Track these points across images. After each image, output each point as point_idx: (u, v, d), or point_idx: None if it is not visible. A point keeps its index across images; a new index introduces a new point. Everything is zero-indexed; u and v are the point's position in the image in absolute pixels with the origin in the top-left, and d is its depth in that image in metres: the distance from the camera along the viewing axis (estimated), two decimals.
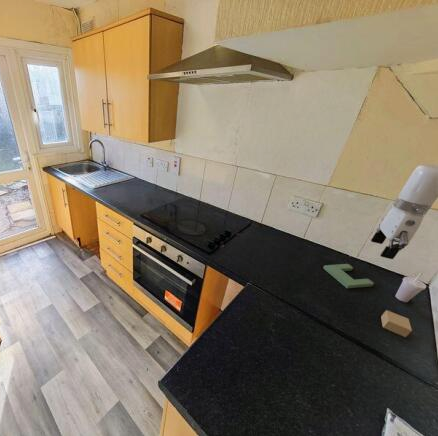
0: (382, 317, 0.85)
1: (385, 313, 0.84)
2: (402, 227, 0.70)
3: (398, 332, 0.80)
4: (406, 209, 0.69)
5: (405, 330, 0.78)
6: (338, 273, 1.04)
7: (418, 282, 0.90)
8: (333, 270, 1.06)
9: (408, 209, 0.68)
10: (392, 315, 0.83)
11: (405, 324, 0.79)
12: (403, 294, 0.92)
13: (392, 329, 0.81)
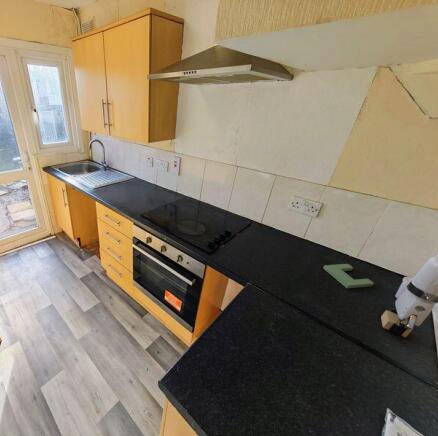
0: (382, 317, 0.85)
1: (385, 313, 0.84)
2: (412, 311, 0.74)
3: None
4: (417, 295, 0.73)
5: None
6: (338, 273, 1.04)
7: None
8: (333, 270, 1.06)
9: (419, 295, 0.72)
10: (392, 315, 0.83)
11: None
12: None
13: None
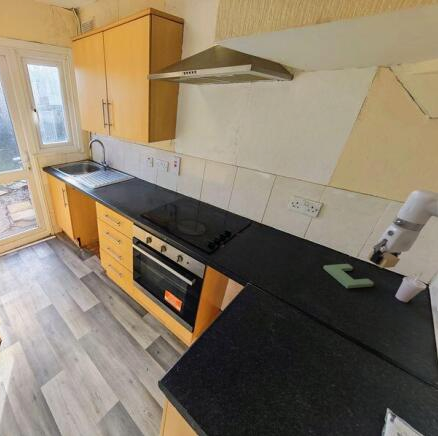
0: None
1: None
2: (385, 235, 0.85)
3: None
4: (394, 222, 0.84)
5: (382, 260, 0.88)
6: (338, 273, 1.04)
7: (418, 282, 0.90)
8: (333, 270, 1.06)
9: (394, 222, 0.83)
10: None
11: (387, 257, 0.88)
12: (403, 294, 0.92)
13: None
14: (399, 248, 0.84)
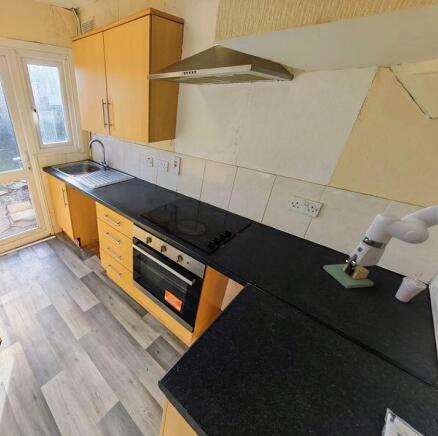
0: None
1: None
2: (355, 251, 0.99)
3: None
4: (363, 240, 0.97)
5: (354, 272, 1.01)
6: (338, 273, 1.04)
7: (418, 282, 0.90)
8: (333, 270, 1.06)
9: None
10: None
11: (359, 270, 1.01)
12: (403, 294, 0.92)
13: None
14: (367, 262, 0.98)
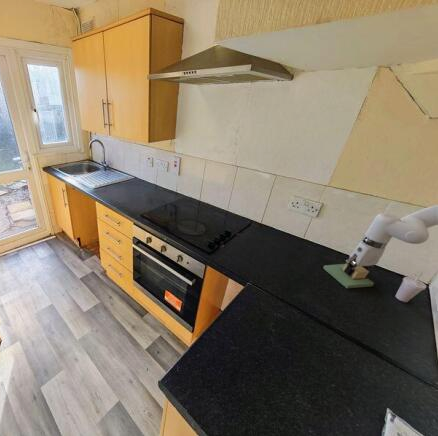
0: None
1: None
2: (355, 251, 0.99)
3: None
4: (362, 240, 0.97)
5: (354, 272, 1.01)
6: (338, 273, 1.04)
7: (418, 282, 0.90)
8: (333, 270, 1.06)
9: (363, 240, 0.97)
10: None
11: (358, 270, 1.01)
12: (403, 294, 0.92)
13: None
14: (367, 262, 0.98)
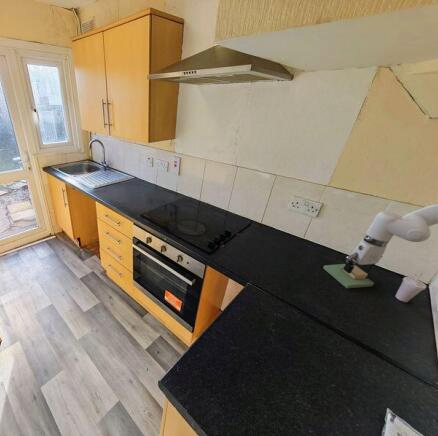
0: None
1: None
2: (356, 249, 0.98)
3: None
4: (363, 238, 0.97)
5: (352, 275, 1.02)
6: (338, 273, 1.04)
7: (418, 282, 0.90)
8: (333, 270, 1.06)
9: (364, 238, 0.96)
10: (355, 267, 1.05)
11: (357, 272, 1.02)
12: (403, 294, 0.92)
13: None
14: (368, 261, 0.97)
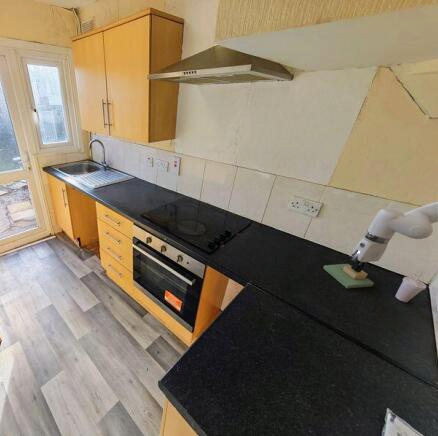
0: None
1: None
2: (357, 247, 0.98)
3: None
4: (365, 235, 0.96)
5: (352, 275, 1.02)
6: (338, 273, 1.04)
7: (418, 282, 0.90)
8: (333, 270, 1.06)
9: None
10: None
11: (357, 272, 1.02)
12: (403, 294, 0.92)
13: None
14: (370, 258, 0.97)
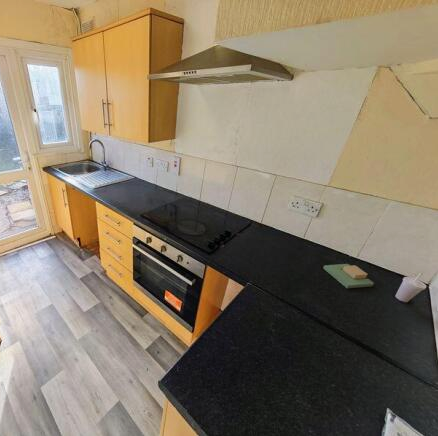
0: None
1: None
2: None
3: None
4: None
5: (352, 274, 1.02)
6: (338, 273, 1.04)
7: (418, 282, 0.90)
8: (333, 270, 1.06)
9: None
10: (355, 267, 1.05)
11: (357, 272, 1.02)
12: (403, 294, 0.92)
13: None
14: None
